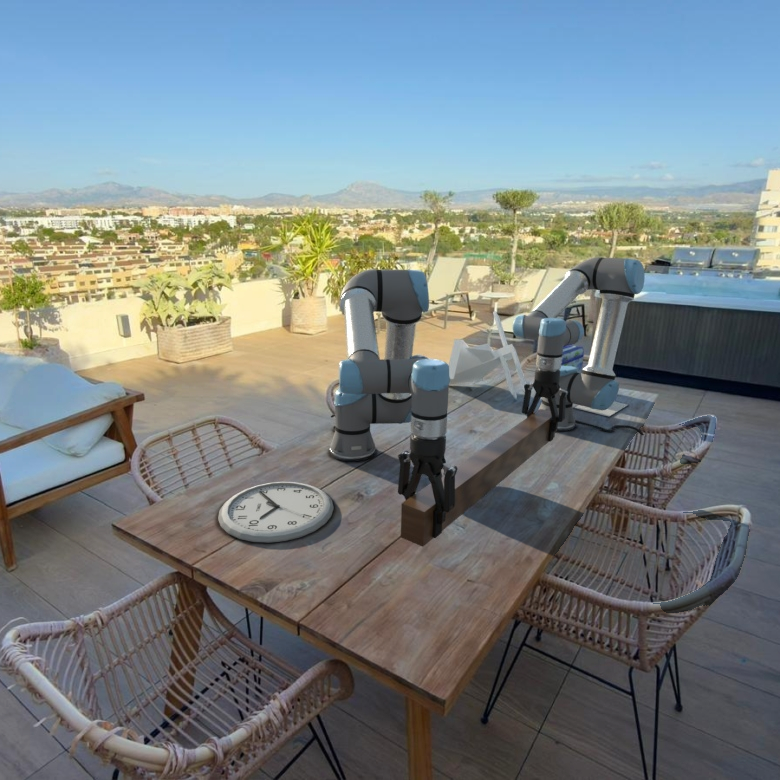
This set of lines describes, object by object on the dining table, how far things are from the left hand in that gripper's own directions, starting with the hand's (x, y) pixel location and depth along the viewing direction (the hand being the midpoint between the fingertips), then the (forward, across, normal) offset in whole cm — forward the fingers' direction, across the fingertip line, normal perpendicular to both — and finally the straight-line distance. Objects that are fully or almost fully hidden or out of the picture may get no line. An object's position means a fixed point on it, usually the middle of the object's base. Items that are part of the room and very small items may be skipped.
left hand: (424, 529), depth 117 cm
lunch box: (+9, -23, +154) cm, 156 cm away
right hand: (0, 0, +68) cm, 69 cm away
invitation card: (+9, 0, +140) cm, 140 cm away
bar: (+1, 0, +34) cm, 34 cm away
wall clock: (+9, -43, -5) cm, 44 cm away
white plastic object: (+9, -50, +124) cm, 134 cm away
